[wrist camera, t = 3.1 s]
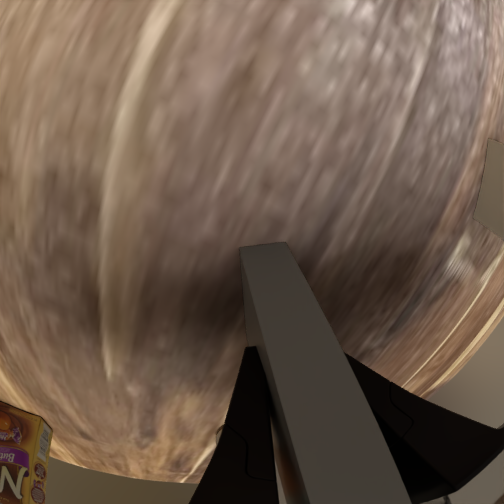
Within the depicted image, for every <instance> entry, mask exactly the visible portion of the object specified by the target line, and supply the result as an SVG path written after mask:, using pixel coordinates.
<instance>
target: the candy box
mask: <svg viewBox="0 0 504 504" xmlns="http://www.w3.org/2000/svg"><path fill="white" fill-rule="evenodd" d="M52 434H53V431H52V430H51V428H50V427H49V426H48V425H47V424H46V423H45V421H44V420H43V419H42V418H41V417H39V416H36V415H31V414H29V413H26V412H24V411H21V410H19V409H16V408H14V407H12V406H9V405H7V404H5V403H2V402H0V504H45V489H46V476H47V467H48V459H49V452H50V446H51V439H52Z"/></svg>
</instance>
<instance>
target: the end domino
mask: <svg viewBox="0 0 504 504" xmlns="http://www.w3.org/2000/svg"><path fill="white" fill-rule="evenodd" d="M239 250H240V263H241V276H242V289H243V301H244V314H245V326H246V336H247V340H248V345H249V346H256V347H257V350H258V353H259V356H260V359H261V362H262V365H263V368H264V372H265V375H266V381H267V391H268V400H269V410H270V419H271V429H272V438H273V448H274V457H275V461H276V465H277V469H278V473H279V476H280V480H281V484H282V488H283V492H284V496H285V499H286V503H287V504H412V503H411V501H410V498H409V496H408V493H407V491H406V488H405V486H404V483H403V481H402V479H401V476H400V474H399V471H398V469H397V467H396V464H395V462H394V460H393V457H392V455H391V453H390V450H389V448H388V446H387V444H386V441H385V439H384V437H383V435H382V432H381V430H380V428H379V426H378V423H377V421H376V419H375V417H374V415H373V413H372V410H371V408H370V406H369V404H368V402H367V400H366V398H365V395H364V393H363V391H362V389H361V387H360V385H359V383H358V381H357V379H356V377H355V375H354V373H353V371H352V368H351V366H350V364H349V362H348V360H347V358H346V356H345V354H344V352H343V350H342V348H341V346H340V344H339V342H338V340H337V338H336V336H335V334H334V332H333V330H332V328H331V327H330V325H329V323H328V321H327V319H326V317H325V315H324V313H323V311H322V309H321V307H320V305H319V303H318V301H317V300H316V298H315V296H314V294H313V292H312V290H311V288H310V286H309V284H308V283H307V281H306V279H305V277H304V275H303V273H302V271H301V270H300V268H299V266H298V264H297V262H296V260H295V258H294V257H293V255H292V253H291V251H290V249H289V248H288V246H287V244H286V242H281V243H273V244H265V245H256V246H248V247H240V248H239Z"/></svg>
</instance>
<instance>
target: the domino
mask: <svg viewBox="0 0 504 504" xmlns="http://www.w3.org/2000/svg"><path fill="white" fill-rule="evenodd" d="M473 218H474V219H475V220H476V221H478V222H479V223H481V224H482V225H483V226H485V227H486V228H488V229H489V230H490V231H492V232H493V233H494V234H495V235H497V236H498V237H499V238H501V239H502V240H503V241H504V144H502V143H500V142H497V141H495V140H492V139H489V138H488V147H487V154H486V161H485V167H484V172H483V178H482V183H481V187H480V192H479V196H478V200H477V205H476V208H475V212H474V216H473Z"/></svg>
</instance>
